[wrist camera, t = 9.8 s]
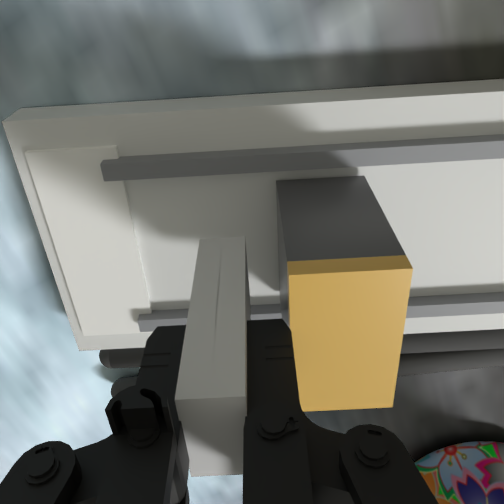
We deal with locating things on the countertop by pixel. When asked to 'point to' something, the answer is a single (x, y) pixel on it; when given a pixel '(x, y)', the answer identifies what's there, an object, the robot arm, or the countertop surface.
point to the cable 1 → (409, 345)
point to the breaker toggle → (341, 292)
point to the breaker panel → (261, 195)
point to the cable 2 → (409, 364)
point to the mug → (465, 473)
